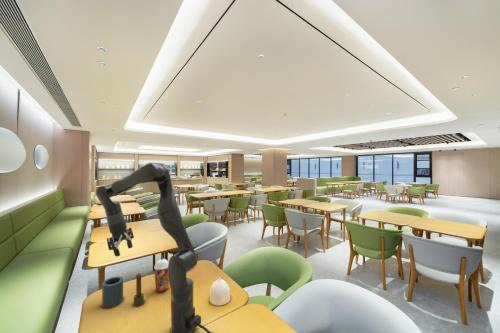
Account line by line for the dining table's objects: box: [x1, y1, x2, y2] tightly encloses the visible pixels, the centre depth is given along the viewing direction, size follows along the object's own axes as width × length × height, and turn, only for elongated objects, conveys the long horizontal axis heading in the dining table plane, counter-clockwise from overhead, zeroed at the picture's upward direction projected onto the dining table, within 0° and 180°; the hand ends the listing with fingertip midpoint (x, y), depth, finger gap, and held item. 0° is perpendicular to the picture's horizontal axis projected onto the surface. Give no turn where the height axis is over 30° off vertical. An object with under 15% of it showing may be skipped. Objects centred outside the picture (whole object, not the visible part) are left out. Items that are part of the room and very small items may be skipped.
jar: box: [101, 276, 124, 309], centre depth 110 cm, size 9×9×11 cm
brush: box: [133, 272, 145, 307], centre depth 109 cm, size 5×5×15 cm
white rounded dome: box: [209, 276, 231, 306], centre depth 113 cm, size 11×11×12 cm
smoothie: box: [153, 254, 170, 293], centre depth 121 cm, size 8×8×20 cm
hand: (124, 251), depth 110 cm, fingers open, 8 cm apart
